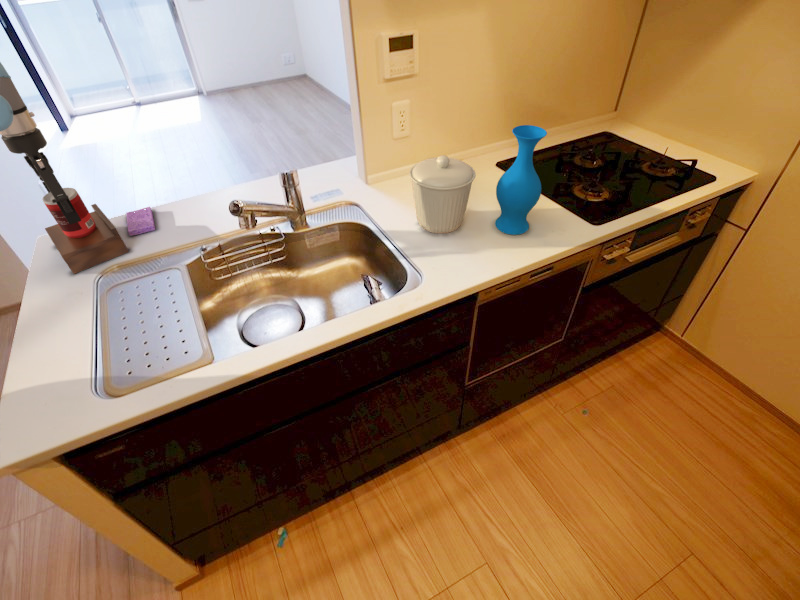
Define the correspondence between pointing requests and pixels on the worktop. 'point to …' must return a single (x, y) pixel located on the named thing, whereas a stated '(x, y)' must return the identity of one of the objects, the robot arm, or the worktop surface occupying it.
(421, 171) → the canister
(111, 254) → the wooden lipped board
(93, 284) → the worktop surface
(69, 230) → the canned food
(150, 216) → the sponge
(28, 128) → the robot arm
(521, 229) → the vase
